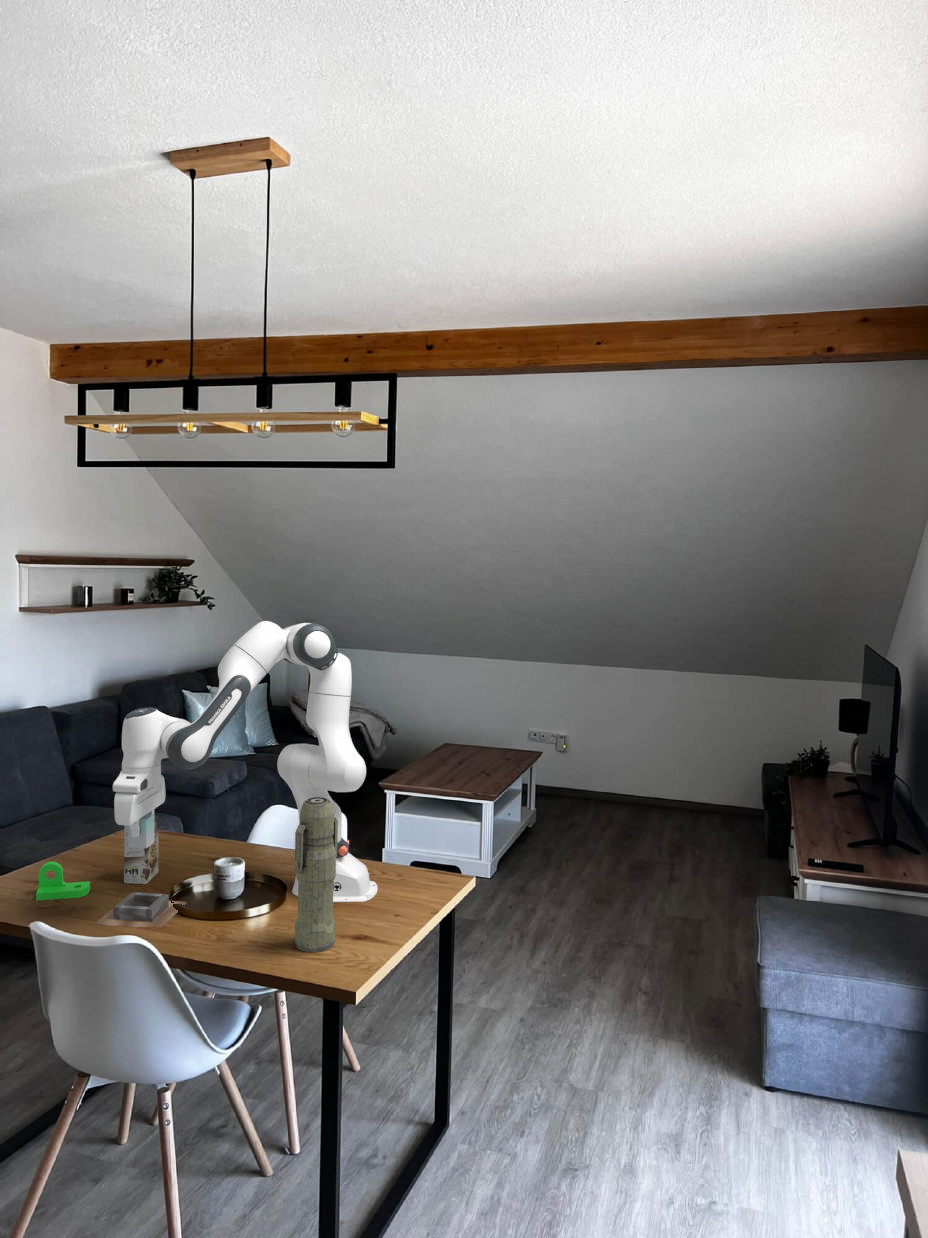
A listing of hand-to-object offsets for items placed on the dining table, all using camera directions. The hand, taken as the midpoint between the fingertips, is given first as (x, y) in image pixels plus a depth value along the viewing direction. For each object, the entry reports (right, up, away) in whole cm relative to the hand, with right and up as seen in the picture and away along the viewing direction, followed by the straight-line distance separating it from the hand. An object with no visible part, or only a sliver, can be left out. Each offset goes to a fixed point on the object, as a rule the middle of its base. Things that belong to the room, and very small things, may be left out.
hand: (141, 832), depth 219 cm
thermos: (+44, -24, -14) cm, 52 cm away
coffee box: (-9, -19, +27) cm, 34 cm away
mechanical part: (-25, -20, +14) cm, 35 cm away
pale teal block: (0, -3, 0) cm, 3 cm away
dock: (-1, -21, +2) cm, 21 cm away
